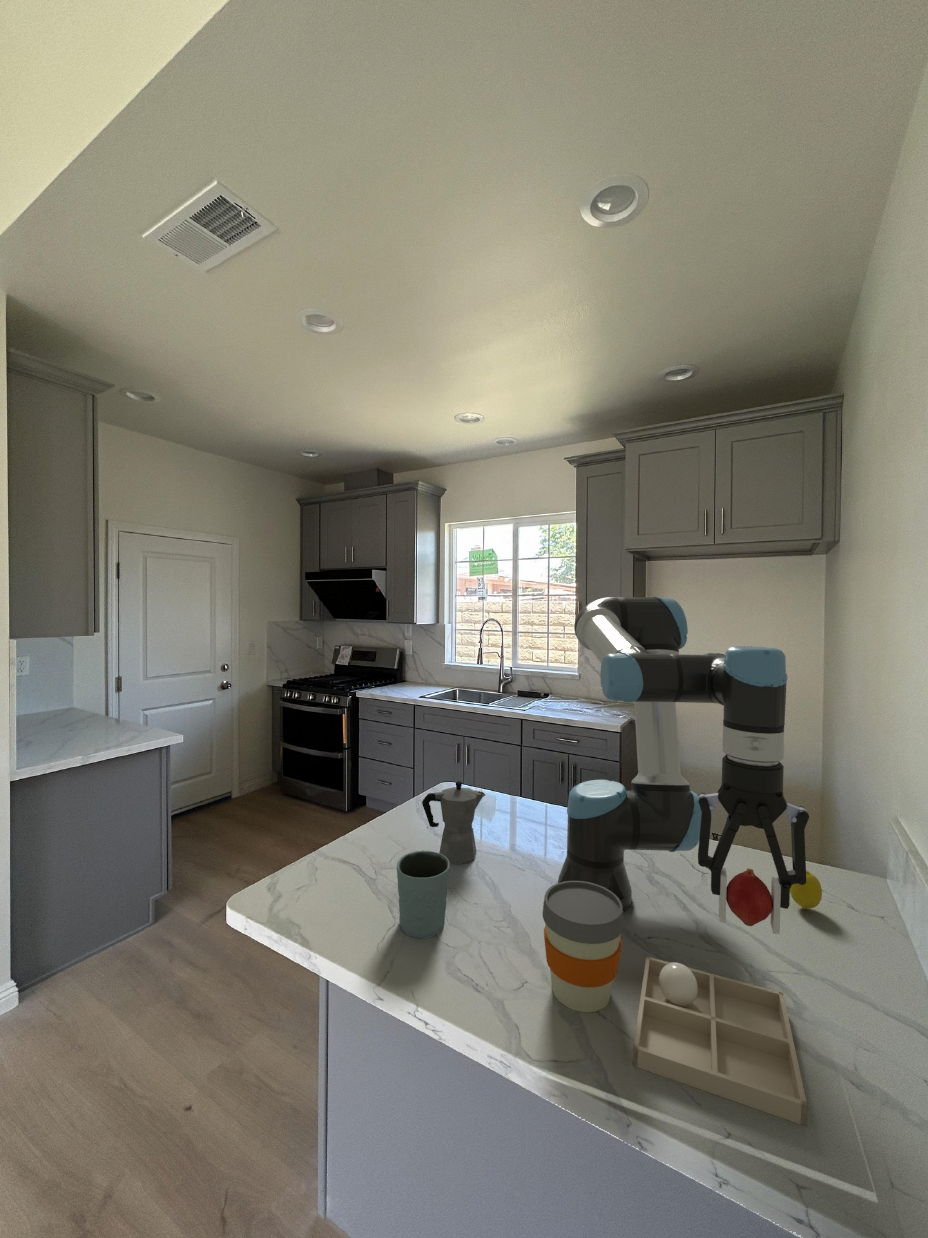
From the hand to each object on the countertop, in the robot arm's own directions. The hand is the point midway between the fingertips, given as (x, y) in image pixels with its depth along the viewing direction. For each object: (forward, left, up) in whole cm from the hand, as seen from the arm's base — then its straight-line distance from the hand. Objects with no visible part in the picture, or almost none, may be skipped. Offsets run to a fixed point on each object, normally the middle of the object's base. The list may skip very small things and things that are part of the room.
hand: (748, 922), depth 75 cm
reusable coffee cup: (-23, 0, -18) cm, 29 cm away
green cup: (-54, +5, -18) cm, 57 cm away
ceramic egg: (-9, +4, -17) cm, 20 cm away
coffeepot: (-60, +32, -18) cm, 70 cm away
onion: (0, 0, 0) cm, 0 cm away
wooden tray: (-4, -1, -18) cm, 18 cm away
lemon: (+14, +42, -18) cm, 48 cm away
